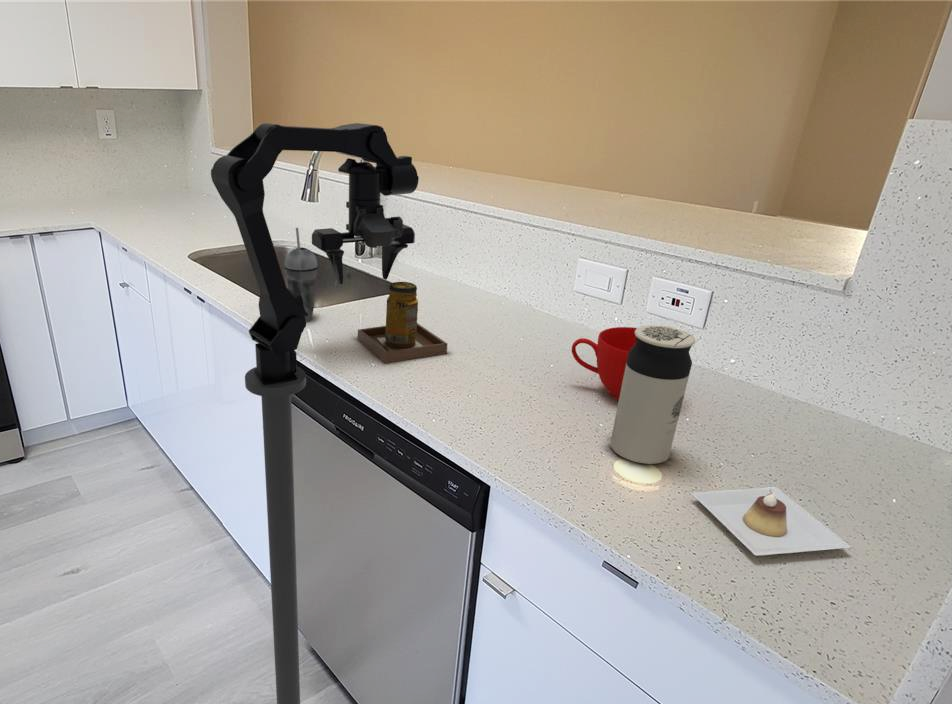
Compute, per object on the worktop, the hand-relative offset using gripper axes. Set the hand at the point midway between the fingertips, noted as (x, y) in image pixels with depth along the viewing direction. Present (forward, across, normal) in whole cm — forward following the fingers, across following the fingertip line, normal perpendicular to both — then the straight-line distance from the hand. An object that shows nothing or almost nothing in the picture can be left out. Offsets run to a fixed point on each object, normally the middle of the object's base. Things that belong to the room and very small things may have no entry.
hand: (363, 281), depth 123 cm
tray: (+13, +7, -4) cm, 15 cm away
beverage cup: (+13, -6, +19) cm, 24 cm away
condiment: (+13, +7, -4) cm, 15 cm away
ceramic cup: (+13, +32, -36) cm, 50 cm away
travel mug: (+13, +21, -52) cm, 58 cm away
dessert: (+13, +22, -71) cm, 75 cm away
